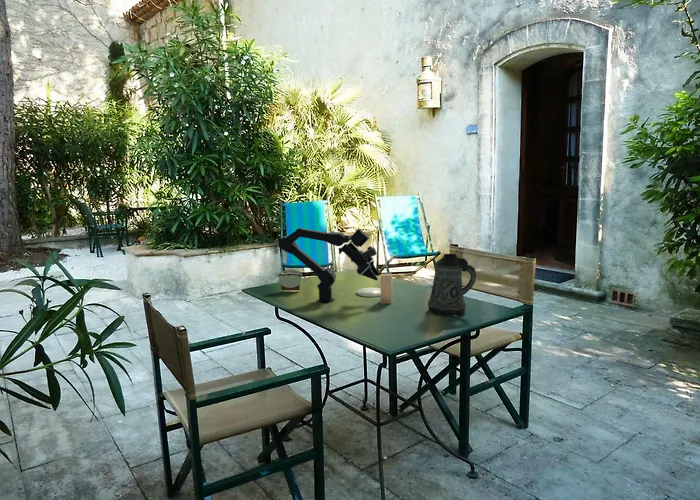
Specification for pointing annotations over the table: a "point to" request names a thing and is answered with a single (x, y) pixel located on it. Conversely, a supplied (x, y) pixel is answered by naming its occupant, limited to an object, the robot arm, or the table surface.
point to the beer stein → (450, 286)
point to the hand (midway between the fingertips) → (378, 277)
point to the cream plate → (369, 292)
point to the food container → (290, 280)
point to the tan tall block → (386, 288)
